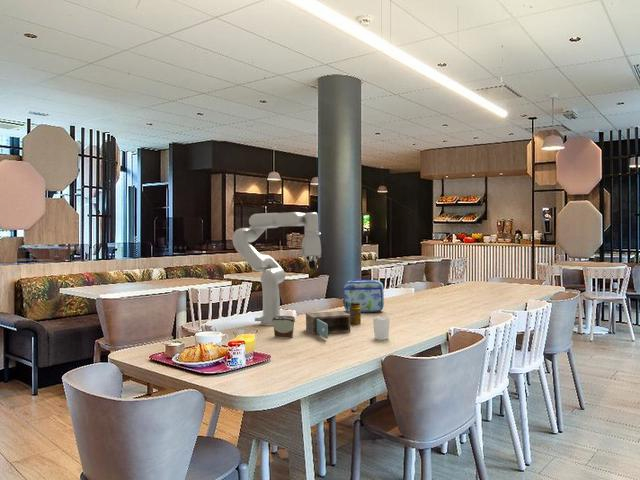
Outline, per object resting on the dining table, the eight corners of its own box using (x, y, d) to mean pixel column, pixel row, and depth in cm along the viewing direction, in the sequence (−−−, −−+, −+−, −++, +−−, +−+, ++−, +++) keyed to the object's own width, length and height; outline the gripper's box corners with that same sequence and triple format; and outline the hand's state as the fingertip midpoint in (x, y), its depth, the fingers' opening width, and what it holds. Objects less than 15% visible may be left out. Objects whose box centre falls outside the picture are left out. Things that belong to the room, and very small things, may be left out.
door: (314, 332, 264) (314, 319, 264) (318, 332, 265) (317, 318, 265) (324, 339, 249) (323, 324, 249) (327, 338, 250) (327, 324, 250)
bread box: (313, 334, 264) (313, 317, 264) (306, 329, 278) (305, 313, 278) (350, 332, 270) (350, 314, 270) (341, 327, 284) (341, 310, 283)
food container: (299, 335, 263) (299, 316, 262) (294, 338, 257) (294, 318, 257) (276, 334, 267) (276, 314, 267) (271, 336, 261) (271, 316, 261)
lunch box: (342, 312, 335) (341, 279, 334) (345, 309, 345) (344, 278, 345) (382, 313, 329) (382, 280, 328) (384, 310, 339) (384, 278, 339)
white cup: (379, 340, 249) (379, 319, 249) (370, 337, 256) (370, 317, 256) (392, 339, 252) (392, 318, 252) (383, 336, 259) (383, 316, 259)
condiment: (363, 324, 293) (363, 302, 293) (351, 325, 288) (351, 304, 288) (356, 322, 299) (355, 301, 299) (344, 324, 294) (343, 302, 294)
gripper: (321, 234, 293) (321, 267, 293) (296, 235, 287) (296, 268, 288) (326, 234, 286) (327, 268, 286) (300, 235, 280) (301, 269, 281)
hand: (311, 268), depth 287 cm, fingers closed
